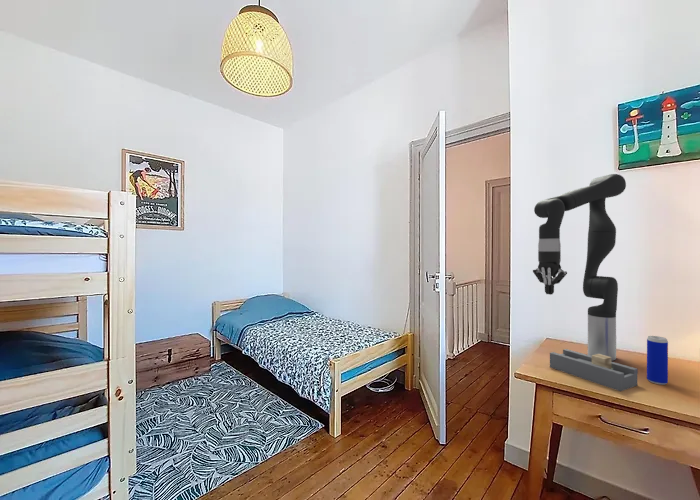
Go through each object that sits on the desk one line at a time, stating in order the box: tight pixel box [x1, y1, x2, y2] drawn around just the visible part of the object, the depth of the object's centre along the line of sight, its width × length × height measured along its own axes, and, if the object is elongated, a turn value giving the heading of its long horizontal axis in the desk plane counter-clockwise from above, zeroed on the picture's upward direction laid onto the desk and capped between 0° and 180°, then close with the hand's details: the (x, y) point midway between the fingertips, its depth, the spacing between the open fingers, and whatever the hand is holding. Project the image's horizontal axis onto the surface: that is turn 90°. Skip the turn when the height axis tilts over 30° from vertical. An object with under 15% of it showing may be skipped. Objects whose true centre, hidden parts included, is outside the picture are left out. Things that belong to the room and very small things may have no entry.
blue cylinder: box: [646, 335, 669, 386], centre depth 110 cm, size 5×5×15 cm
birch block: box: [592, 354, 612, 369], centre depth 113 cm, size 4×4×4 cm
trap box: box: [549, 348, 639, 392], centre depth 116 cm, size 10×23×6 cm, turn 25°
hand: (549, 294), depth 129 cm, fingers closed
